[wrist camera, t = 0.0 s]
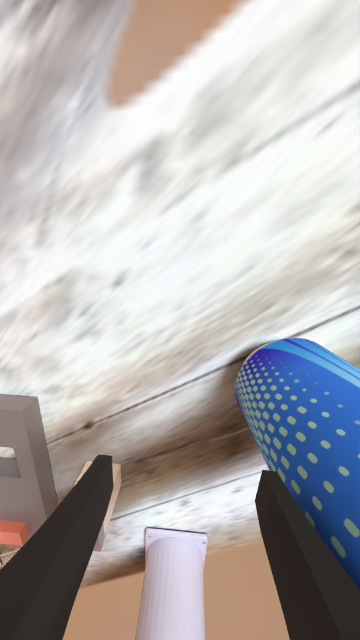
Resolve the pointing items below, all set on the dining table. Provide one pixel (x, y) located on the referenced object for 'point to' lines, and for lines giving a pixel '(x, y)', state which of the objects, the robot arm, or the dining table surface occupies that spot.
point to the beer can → (309, 434)
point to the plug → (117, 484)
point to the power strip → (23, 471)
